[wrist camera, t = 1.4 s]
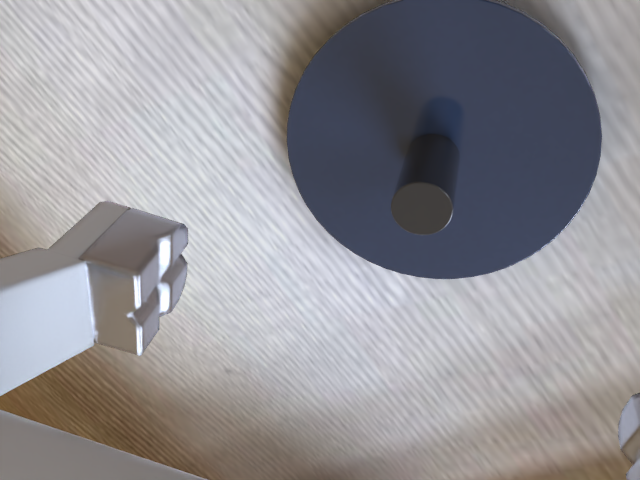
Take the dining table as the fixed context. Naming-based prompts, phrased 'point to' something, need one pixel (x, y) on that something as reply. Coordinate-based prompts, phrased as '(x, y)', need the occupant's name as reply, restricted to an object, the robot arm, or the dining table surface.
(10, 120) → the dining table surface
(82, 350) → the robot arm
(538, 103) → the pot lid
